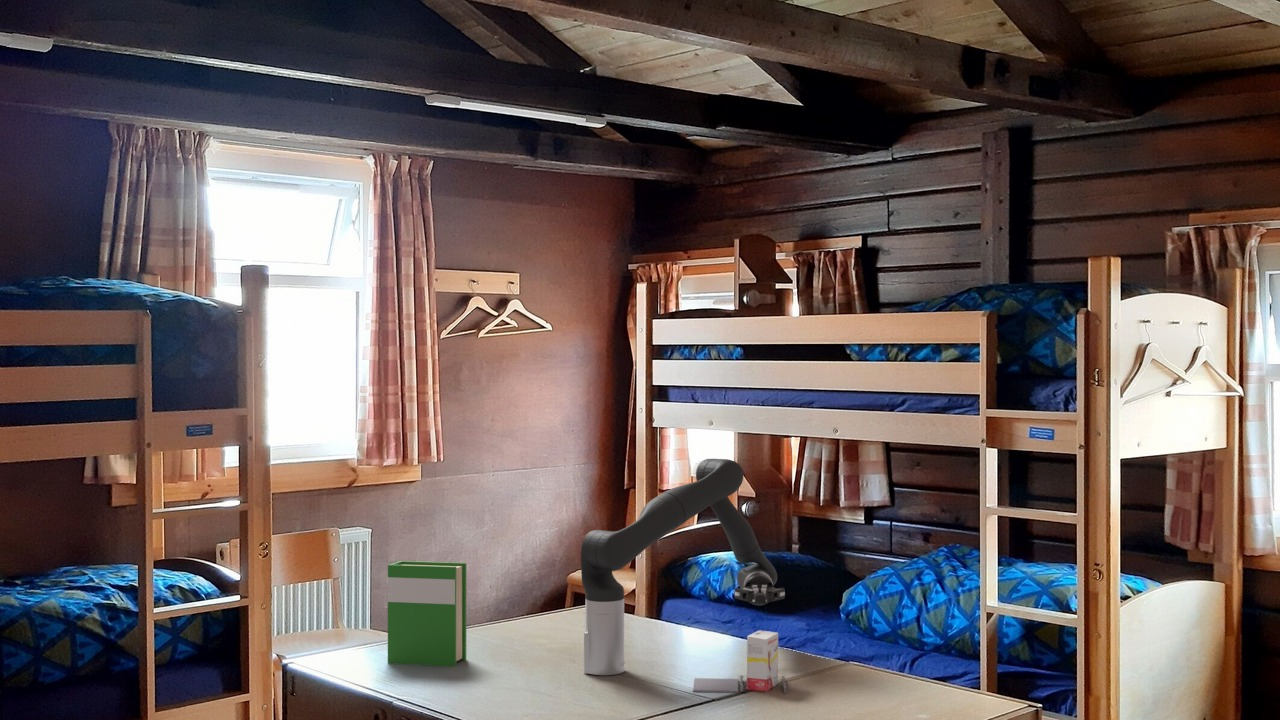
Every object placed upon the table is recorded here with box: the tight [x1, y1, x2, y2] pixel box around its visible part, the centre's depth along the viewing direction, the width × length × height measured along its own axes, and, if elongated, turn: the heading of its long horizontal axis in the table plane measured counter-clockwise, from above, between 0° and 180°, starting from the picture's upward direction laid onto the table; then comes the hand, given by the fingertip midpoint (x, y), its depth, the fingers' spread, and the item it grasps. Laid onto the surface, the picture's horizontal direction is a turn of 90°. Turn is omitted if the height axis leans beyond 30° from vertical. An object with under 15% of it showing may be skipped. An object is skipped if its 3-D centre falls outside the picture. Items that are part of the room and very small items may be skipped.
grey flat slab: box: [692, 675, 787, 694], centre depth 268 cm, size 20×11×1 cm, turn 86°
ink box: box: [746, 630, 779, 693], centre depth 268 cm, size 9×5×12 cm, turn 155°
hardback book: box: [387, 560, 467, 667], centre depth 295 cm, size 18×7×24 cm, turn 77°
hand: (760, 599), depth 286 cm, fingers closed
